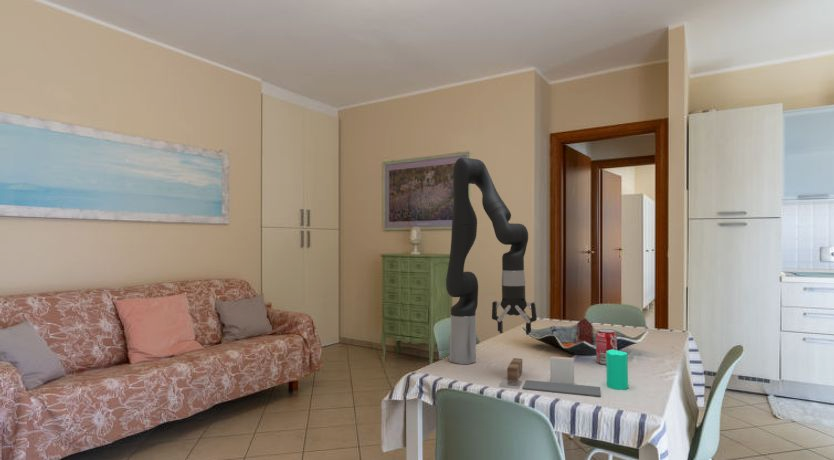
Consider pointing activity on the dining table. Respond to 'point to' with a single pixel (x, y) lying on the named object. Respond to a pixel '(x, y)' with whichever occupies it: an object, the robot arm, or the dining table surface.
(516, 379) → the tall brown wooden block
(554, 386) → the mat
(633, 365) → the dining table surface
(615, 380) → the candle
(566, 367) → the tile
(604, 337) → the soda can
